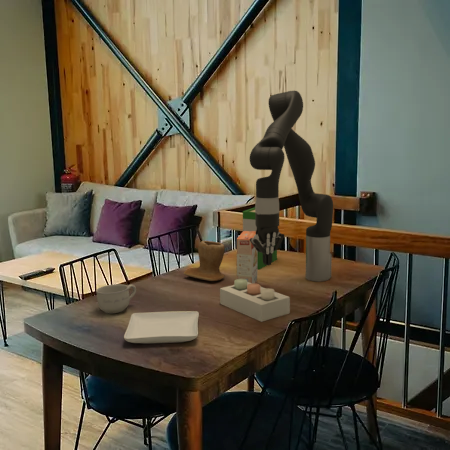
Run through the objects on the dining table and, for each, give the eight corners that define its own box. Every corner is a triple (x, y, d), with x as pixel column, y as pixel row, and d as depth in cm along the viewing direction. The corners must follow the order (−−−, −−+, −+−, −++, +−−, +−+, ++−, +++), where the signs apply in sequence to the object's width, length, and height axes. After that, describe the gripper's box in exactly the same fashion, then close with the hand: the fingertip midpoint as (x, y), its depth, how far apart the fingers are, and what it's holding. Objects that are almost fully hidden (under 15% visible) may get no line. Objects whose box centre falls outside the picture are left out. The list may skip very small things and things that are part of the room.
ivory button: (268, 295, 188) (268, 287, 188) (277, 298, 185) (277, 290, 184) (258, 298, 186) (257, 290, 185) (266, 301, 182) (266, 293, 182)
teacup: (102, 318, 185) (101, 294, 184) (93, 308, 195) (92, 285, 193) (143, 310, 192) (142, 287, 190) (133, 301, 201) (131, 279, 200)
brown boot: (231, 277, 227) (230, 240, 224) (212, 285, 218) (211, 246, 215) (202, 271, 237) (201, 236, 234) (182, 278, 228) (181, 241, 225)
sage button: (242, 285, 199) (241, 278, 199) (249, 288, 196) (249, 280, 195) (231, 287, 197) (231, 280, 196) (239, 291, 193) (239, 283, 193)
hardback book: (261, 258, 257) (261, 205, 252) (277, 259, 253) (276, 206, 248) (243, 267, 242) (242, 211, 237) (259, 269, 238) (258, 212, 233)
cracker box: (253, 296, 204) (252, 238, 200) (236, 295, 206) (235, 238, 202) (258, 284, 218) (258, 230, 214) (243, 283, 219) (242, 230, 215)
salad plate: (132, 322, 183) (131, 311, 182) (199, 319, 183) (198, 309, 183) (123, 349, 162) (122, 337, 161) (198, 346, 163) (198, 335, 162)
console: (247, 296, 204) (247, 281, 203) (289, 313, 187) (289, 297, 186) (220, 303, 197) (219, 288, 196) (261, 321, 180) (261, 305, 179)
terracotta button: (254, 290, 194) (254, 282, 193) (263, 293, 190) (263, 285, 190) (244, 292, 191) (244, 285, 191) (252, 296, 188) (252, 288, 187)
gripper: (275, 207, 187) (275, 258, 190) (243, 212, 179) (243, 265, 182) (291, 210, 181) (290, 263, 184) (258, 215, 173) (259, 270, 176)
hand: (267, 264), depth 183 cm, fingers closed
